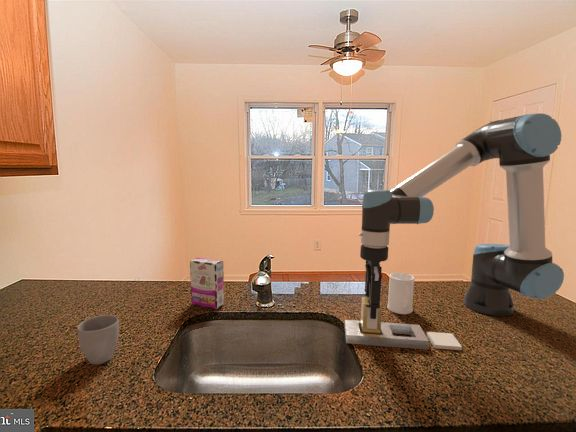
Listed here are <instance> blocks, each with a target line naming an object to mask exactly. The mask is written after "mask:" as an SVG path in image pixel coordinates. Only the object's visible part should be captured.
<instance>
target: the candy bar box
mask: <svg viewBox="0 0 576 432" xmlns="http://www.w3.org/2000/svg"><path fill="white" fill-rule="evenodd" d="M189 268H190V269H189V273H190V274H189V275H190V297H191V298H190V299H191V305H193V306H198V307H203V308H207V309H212V310H218V309H219V308H221V307H223V306H224V305H225V284H224V283H225V282H224V280H225V279H224V260H221V259H211V258H206V257H205V258H204V257H196V258H194V259H192V260H190V261H189Z"/></svg>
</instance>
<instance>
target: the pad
mask: <svg viewBox="0 0 576 432" xmlns="http://www.w3.org/2000/svg"><path fill="white" fill-rule="evenodd" d="M426 337H427V338H428V340H429V342H431V344H432V346H433V348H434V349H440V350H441V349H442V350H452V351H453V350H454V351H463V346H462V345H461V343H460V342H459V341H458V339H457V338H456V337H455V336H454V334H453V333H447V332H434V331H427V332H426Z"/></svg>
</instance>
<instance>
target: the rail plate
mask: <svg viewBox="0 0 576 432" xmlns="http://www.w3.org/2000/svg"><path fill="white" fill-rule="evenodd" d="M360 324H361V320H357V319H356V320H355V319H344V334H345V342H346V343H345V344H350V345H352V344H353V345H364V346H377V347H390V348H403V349H417V350H429V346H430V339H429V338H428V336H427V334H426V333H425V332H424V330H423V328H422V327H421V325H420V324H415V323H414V324H412V323H411V324H409V323H399V322H398V323H397V322H383V321H381V332H380V335H375V334H362V333H360ZM394 334H398V335H399V334H400V335H399V336H398V335H394ZM401 334H402V335H410V336H401Z"/></svg>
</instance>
